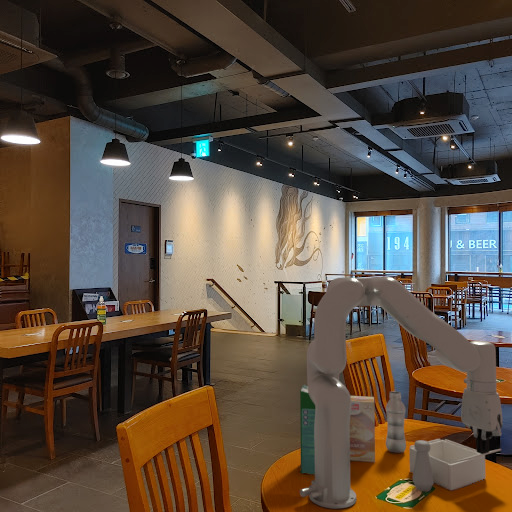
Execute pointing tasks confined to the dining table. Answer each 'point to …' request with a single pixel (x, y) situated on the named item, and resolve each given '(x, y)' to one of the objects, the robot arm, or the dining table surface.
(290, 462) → the dining table surface
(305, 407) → the milk carton
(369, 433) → the coffeecake box
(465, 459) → the flap
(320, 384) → the robot arm
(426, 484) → the salt shaker
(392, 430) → the plastic bottle
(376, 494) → the dining table surface
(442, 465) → the carton
